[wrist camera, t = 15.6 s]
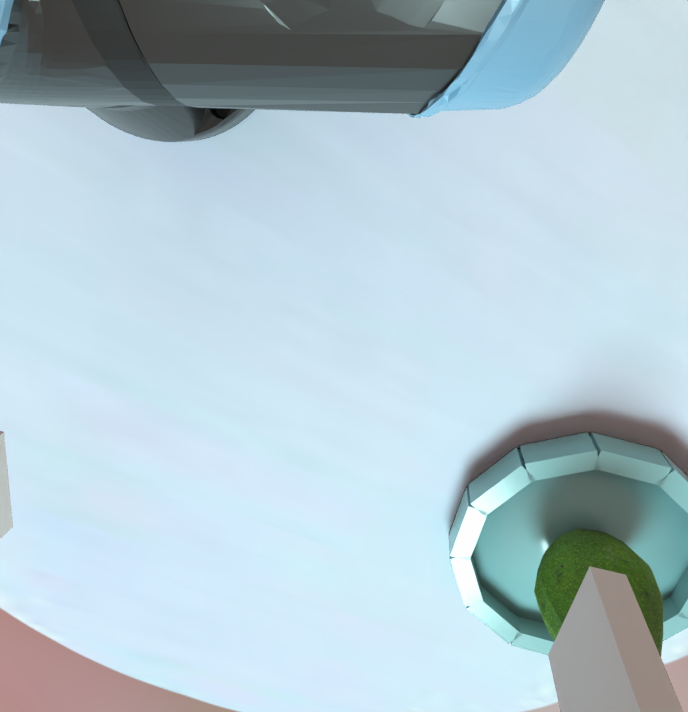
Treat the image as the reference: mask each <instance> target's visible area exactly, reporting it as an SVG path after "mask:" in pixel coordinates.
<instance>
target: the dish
mask: <svg viewBox="0 0 688 712" xmlns="http://www.w3.org/2000/svg"><path fill="white" fill-rule="evenodd" d="M520 448H521V449H520V450H519V449H518V448H517V447H516V448H514V449H513V450H512V451H511V452H509V453H508V454H507V455H505V456H504V457H503V458H501V459H500V460H499V461H498V462H496V463H495V464H494V465H492V466H491V467H490V468H488V469H487V470H486V471H485V472H483V473H482V474H481V475H479V476H478V477H477V478H476V479H474V480H473V481H472V482H470V483H469V484H468V486H469V487H466V489H465V492H464V495H463V497H462V500H461V503H460V506H459V508H458V511H457V514H456V517H455V519H454V522H453V525H452V528H451V531H450V533H449V548H450V561H451V564H452V567H453V570H454V573H455V576H456V580H457V583H458V586H459V589H460V592H461V596H462V599H463V602H464V605H465V606H466V607H467V610H469V611H470V612H471V613H472V614H473V615H475V616H476V617H477V618H478V619H479V620H481V621H482V622H483V623H484V624H485V625H486V626H488V627H489V628H490V629H491V630H492V631H494V632H495V633H496V634H497V635H498V636H500V637H501V638H502V639H503V640H504V641H506V642H507V643H508V644H509V643H510V642H511V645H512V646H516V647H520V648H523V649H527V650H531V651H534V652H538V653H542V654H545V655H548V654H549V652H550V650H551V648H552V646H553V643H554V641H555V640H554V639H553V638H552V637H551V635H550V634H549V633H548V630H547V628H546V625H545V623H544V620H543V618H542V615H541V612H540V610H539V607H538V604H537V600H536V596H535V593H534V589H535V583H536V577H537V571H538V568H539V565H540V562H541V559H542V556H543V555H544V553H545V551H546V550H547V549H548V548H549V546H550V545H551V544H552V543H553V542H554V541H555V540H556V539H557V538H558V537H559V536H561V535H563V534H566V533H568V532H571V531H573V530H576V529H589V530H597V531H602V532H605V533H607V534H609V535H611V536H613V537H615V538H617V539H619V540H621V541H623V542H624V543H625V544H626V545H627V546H628V547H630V548H631V549H632V550H633V551H634V552H635V553H636V554H637V555H638V556H639V557H640V558H642V559H643V560H644V561H645V562H646V563H647V564H648V565H649V566H650V568H651V570H652V572H653V574H654V577H655V579H656V582H657V585H658V587H659V590H660V592H661V595H662V597H663V641H664V640H666V639H668V638H670V637H671V636H673V635H675V634H677V633H679V632H680V631H682V630H684V629H686V628H688V476H687V475H686V474H685V473H684V472H683V471H682V470H680V469H679V468H678V467H677V466H676V465H675V464H674V463H673V462H672V461H671V460H670V459H669V458H668V457H667V456H666V455H665V454H664V453H663V452H662V451H659V450H658V449H656V448H652V447H648V446H644V445H640V444H636V443H633V442H629V441H625V440H621V439H617V438H613V437H609V436H605V435H601V434H597V433H593V432H591V435H590V436H589V434H588V432H585V433H580V434H575V435H570V436H565V437H560V438H555V439H550V440H545V441H540V442H535V443H530V444H525V445H520Z"/></svg>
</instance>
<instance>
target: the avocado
mask: <svg viewBox="0 0 688 712" xmlns="http://www.w3.org/2000/svg"><path fill="white" fill-rule="evenodd" d="M589 567H595V568H599V569H603V570H608V571H612V572H616V573H621V574H625V575H626V576H627V578H628V581H629V583H630V585H631V588H632V590H633V593H634V595H635V597H636V600H637V602H638V605H639V607H640V609H641V612H642V614H643V616H644V619H645V621H646V624H647V626H648V628H649V631H650V633H651V636H652V638H653V640H654V643H655V645H656V648H657V650H658V652H659V655H660V657H661V649H662V642H663V597H662V595H661V592H660V590H659V587H658V585H657V582H656V579H655V577H654V574H653V572H652V570H651V568H650V566H649V565H648V564H647V563H646V562H645V561H644V560H643V559H642V558H640V557H639V556H638V555H637V554H636V553H635V552H634V551H633V550H632V549H631V548H630V547H628V546H627V545H626V544H625V543H624V542H623V541H621V540H619V539H617V538H615V537H613V536H611V535H609V534H607V533H605V532H602V531H597V530H589V529H576V530H573V531H571V532H568V533H566V534H563V535H561V536H559V537H558V538H557V539H556V540H555V541H554V542H553V543H552V544H551V545H550V546H549V548H548V549H547V550H546V551H545V553H544V555H543V556H542V559H541V562H540V565H539V568H538V571H537V577H536V583H535V589H534V593H535V596H536V600H537V604H538V607H539V610H540V612H541V615H542V618H543V620H544V623H545V625H546V628H547V630H548V633H549V634H550V635H551V637H552V638H553V639H554V640H555V639H556V637H557V635H558V633H559V631H560V629H561V626H562V624H563V622H564V620H565V618H566V616H567V614H568V611H569V609H570V607H571V605H572V603H573V601H574V599H575V597H576V594H577V592H578V590H579V588H580V586H581V584H582V582H583V579H584V577H585V575H586V573H587V571H588V569H589Z"/></svg>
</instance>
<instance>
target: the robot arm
mask: <svg viewBox="0 0 688 712" xmlns="http://www.w3.org/2000/svg"><path fill="white" fill-rule="evenodd" d="M604 1H605V0H0V103H9V104H29V105H49V106H68V107H86V108H87V109H88V110H90V111H91V112H92V113H94V114H95V115H97V116H98V117H99V118H101V119H102V120H104V121H105V122H107V123H109V124H110V125H112V126H114V127H116V128H118V129H120V130H122V131H124V132H126V133H129V134H132V135H134V136H138V137H141V138H145V139H149V140H154V141H162V142H181V141H194V140H201V139H205V138H209V137H212V136H216V135H218V134H220V133H223V132H225V131H227V130H229V129H231V128H232V127H234V126H236V125H237V124H239V123H240V122H241V121H243V120H244V119H245V118H246V117H248V116H249V115H250V114H251V113H252V112H253V111H254V110H255V109H265V110H299V111H333V112H368V113H402V114H407V115H409V116H410V117H413V118H420V117H421V116H425V117H429V116H432V115H434V114H436V113H438V112H440V111H454V110H486V109H502V108H507V107H510V106H513V105H516V104H519V103H522V102H524V101H525V100H527V99H529V98H531V97H533V96H535V95H536V94H538V93H539V92H540V91H541V90H543V89H544V88H545V87H546V86H547V85H548V84H549V83H550V82H551V81H552V80H553V79H554V78H555V77H556V76H557V75H558V74H559V73H560V72H561V71H562V69H563V68H564V67H565V66H566V64H567V63H568V62H569V60H570V59H571V58H572V56H573V55H574V53H575V52H576V50H577V49H578V47H579V46H580V44H581V43H582V41H583V39H584V38H585V36H586V34H587V33H588V31H589V29H590V28H591V26H592V24H593V22H594V20H595V18H596V17H597V15H598V13H599V11H600V9H601V7H602V5H603V3H604ZM12 527H13V522H12V512H11V501H10V491H9V480H8V470H7V459H6V449H5V438H4V432H2V431H0V539H1V538H2V537H3V536H4V535H5V534H6V533H7V532H8V531H9V530H10V529H11V528H12ZM548 655H549V660H550V665H551V669H552V674H553V678H554V683H555V688H556V692H557V697H558V702H559V706H560V711H561V712H683V710H682V707H681V705H680V702H679V700H678V698H677V696H676V693H675V691H674V688H673V686H672V683H671V681H670V679H669V676H668V674H667V671H666V669H665V667H664V664H663V662H662V659H661V657H660V655H659V652H658V650H657V648H656V645H655V643H654V640H653V638H652V636H651V633H650V631H649V628H648V626H647V624H646V621H645V619H644V616H643V614H642V612H641V609H640V607H639V605H638V602H637V600H636V597H635V595H634V593H633V590H632V588H631V585H630V583H629V581H628V578H627V576H626V575H625V574H621V573H616V572H612V571H608V570H603V569H599V568H595V567H589V569H588V571H587V573H586V575H585V577H584V579H583V582H582V584H581V586H580V588H579V590H578V592H577V594H576V597H575V599H574V601H573V603H572V605H571V607H570V609H569V611H568V614H567V616H566V618H565V620H564V622H563V624H562V626H561V629H560V631H559V633H558V635H557V637H556V639H555V641H554V643H553V646H552V648H551V650H550V652H549V654H548Z"/></svg>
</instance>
